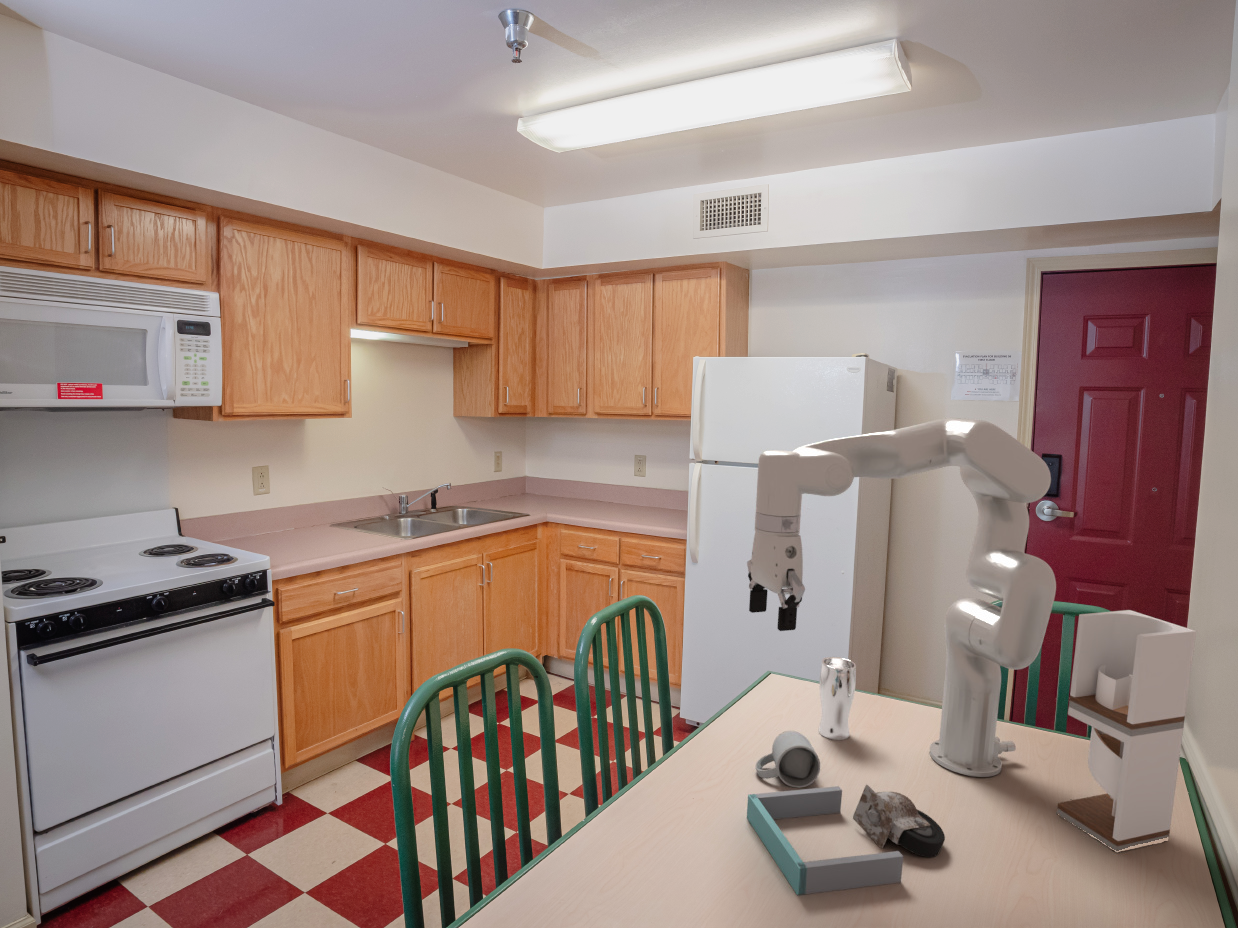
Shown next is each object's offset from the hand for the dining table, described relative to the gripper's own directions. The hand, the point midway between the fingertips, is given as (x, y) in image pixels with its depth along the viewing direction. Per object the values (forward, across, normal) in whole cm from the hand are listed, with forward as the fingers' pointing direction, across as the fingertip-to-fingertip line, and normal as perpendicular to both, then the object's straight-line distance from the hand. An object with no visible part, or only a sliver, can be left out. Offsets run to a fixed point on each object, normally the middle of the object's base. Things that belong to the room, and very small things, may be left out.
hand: (771, 620), depth 127 cm
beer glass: (+30, +13, -24) cm, 41 cm away
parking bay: (+30, -18, 0) cm, 35 cm away
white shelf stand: (+30, -27, -50) cm, 64 cm away
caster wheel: (+30, -20, -14) cm, 39 cm away
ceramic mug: (+30, +1, -6) cm, 31 cm away
